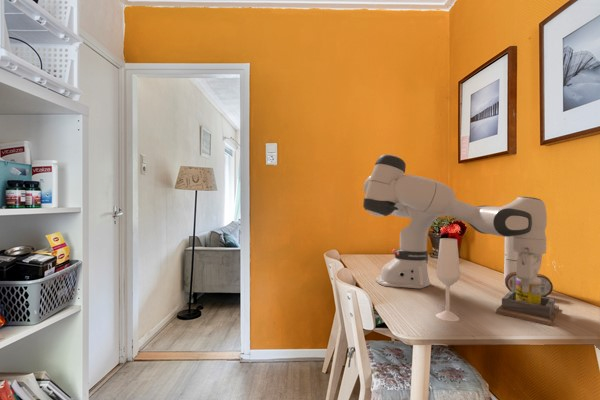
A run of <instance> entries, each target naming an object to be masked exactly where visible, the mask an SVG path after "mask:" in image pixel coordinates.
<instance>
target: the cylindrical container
mask: <svg viewBox="0 0 600 400" xmlns="http://www.w3.org/2000/svg"><path fill="white" fill-rule="evenodd" d="M517 254H518V253H517V252H516V251H513V236H510V237H504V261H503V262H504V264H503V265H504V266H503V267H504V269H503V283H504V285H505V278H506V276H507V275H508V274H509V273H512V272H517V258H518V256H517Z"/></svg>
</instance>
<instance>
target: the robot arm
mask: <svg viewBox="0 0 600 400" xmlns="http://www.w3.org/2000/svg"><path fill="white" fill-rule="evenodd" d="M406 166H407V165H406V162H405V161H404V159H402V158H400V157H399V156H397V155H393V154H382V155H380V156H379V157H378V158H377V160H376V162H375V163H374V166H373V167H374V168H373V170H372V172H371V174H370V175H369V176H368V177H367V178H366V179H365V181H364V183H363V193H364V194H365V197H364V198H363V205H362V206H363V208H364V210H365V211H366V212H367V213H369V214H370V215H372V216H375V217H387V216H389V215H390V216H391V215H392V216H395V217H398V218H409V219H410V222H409V224H408V225H407V226H404V227H403V228H402V229H401V230H400V232H399V248H398V249H396V248H393V249H392V250H391V253H392V254H393V255H394V258H393V259H391V260H389V261H388V262H387V263H385V264H384V265H383V266H382V268H381V272H380V275H377V276H376V277H375V281H376V282H377V283H378V284H379V285H381V286H384V287H395V288H409V289H410V288H411V289H423V288H425V287H428V286H430V285H431V282H430V276H429V272H428V270H429V269H428V262H429V254H428V250H427V249H428V245H427V244H428V234H429V230H430V227H431V225H433V223H434V221H435V220H436V219H438V218H439V217H445V216H446V217H448V216H449V217H451V218H453V219H457V220H459V221H462V222H465V223H466V224H468V225H469V226H471V228H472V229H474V230H475V231H476V232H478V233H480V234H485V235H492V236H493V235H494V236H497V237H504V238H505V237H510V236H513V251H516V252H517V253H518V254H517V256H518V258H517V272H516V275H517V278H518V279H521V283H522V291H523V292H527V293H528V292H529V291H530V286H529V284H530V280H531V279H532V278H533V277H534V275H535V270H536V269H537V270H538V272H539V271H540V269H541V266H542V258H543V255H544V254H546V253H547V235H546V228H547V222H548V219H547V217H548V216H547V207H546V203H545V202H544V201H543V200H542V199H541V198H537V197H532V196H530V197H529V196H518V197H516V199H514V200H513V201H511V202H509V203H507V204H504V205H502V206H492V205H477V206H476V205H472V204H470V203H467V202H464V201H462V200H459V199H457V198H456V194H455V191H454V190H453V189H452V188H451V187H450V186H448V185H447V184H445V183H443V182H441V181H437V180H435V179H433V178H432V179H431V178H427V177H424V176H419V175H414V174H405V173H406Z"/></svg>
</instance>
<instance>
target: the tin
mask: <svg viewBox="0 0 600 400" xmlns="http://www.w3.org/2000/svg"><path fill="white" fill-rule="evenodd" d="M537 277H538V278H540V280H541V297H547V296H549V295H551V293H552V292H553V290H554V286H553V283H552V281H551V279H550V278H549V277H547V276H546V275H544V274H541V273H538V274H537ZM516 278H517V275H516V272H512V273H509V274H508V275H507V276H506V278H505V284H504V285H505V287H506V288H507V290H509V292H510V291H513V292H516Z"/></svg>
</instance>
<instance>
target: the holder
mask: <svg viewBox="0 0 600 400" xmlns="http://www.w3.org/2000/svg"><path fill="white" fill-rule="evenodd" d="M555 300H556V299H555V298H551V297H547V296H545V297H541V305H537V304H532V303H527V302H522V301H516V292H513V291H510V290H509V291H507V293H506V294H505V295H504V296H503V297H502V298H501V304H500V305H499V306H498V307H497V309H496V310H495V314H498V315H502V316H507V317H511V318H516V319H521V320H524V321H528V322H534V323H539V324H542V325H547V326H553V323H554V321H555V318H556V317H557V314H558V311H559V309H560V306H559V305H558V304H555V303H556V301H555Z"/></svg>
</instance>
